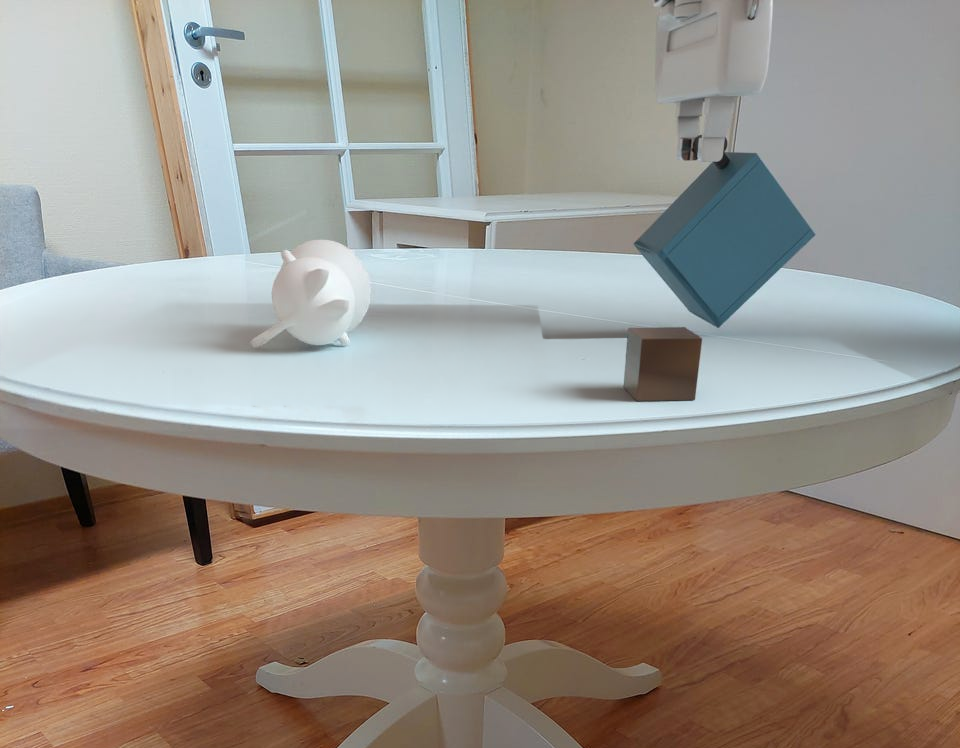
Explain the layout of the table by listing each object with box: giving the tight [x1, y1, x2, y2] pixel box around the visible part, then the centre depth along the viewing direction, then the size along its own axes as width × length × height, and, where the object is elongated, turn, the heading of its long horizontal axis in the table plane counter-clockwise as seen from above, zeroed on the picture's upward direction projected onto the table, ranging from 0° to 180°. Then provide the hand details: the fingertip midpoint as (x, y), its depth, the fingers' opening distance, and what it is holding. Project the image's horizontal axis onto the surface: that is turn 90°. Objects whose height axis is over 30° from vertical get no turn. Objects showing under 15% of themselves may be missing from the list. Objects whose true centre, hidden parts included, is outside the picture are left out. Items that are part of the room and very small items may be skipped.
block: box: [623, 326, 703, 402], centre depth 60 cm, size 4×4×4 cm
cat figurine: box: [250, 238, 372, 349], centre depth 75 cm, size 9×11×12 cm
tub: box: [633, 134, 816, 329], centre depth 81 cm, size 12×9×11 cm
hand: (697, 161), depth 78 cm, fingers closed on tub, 5 cm apart
